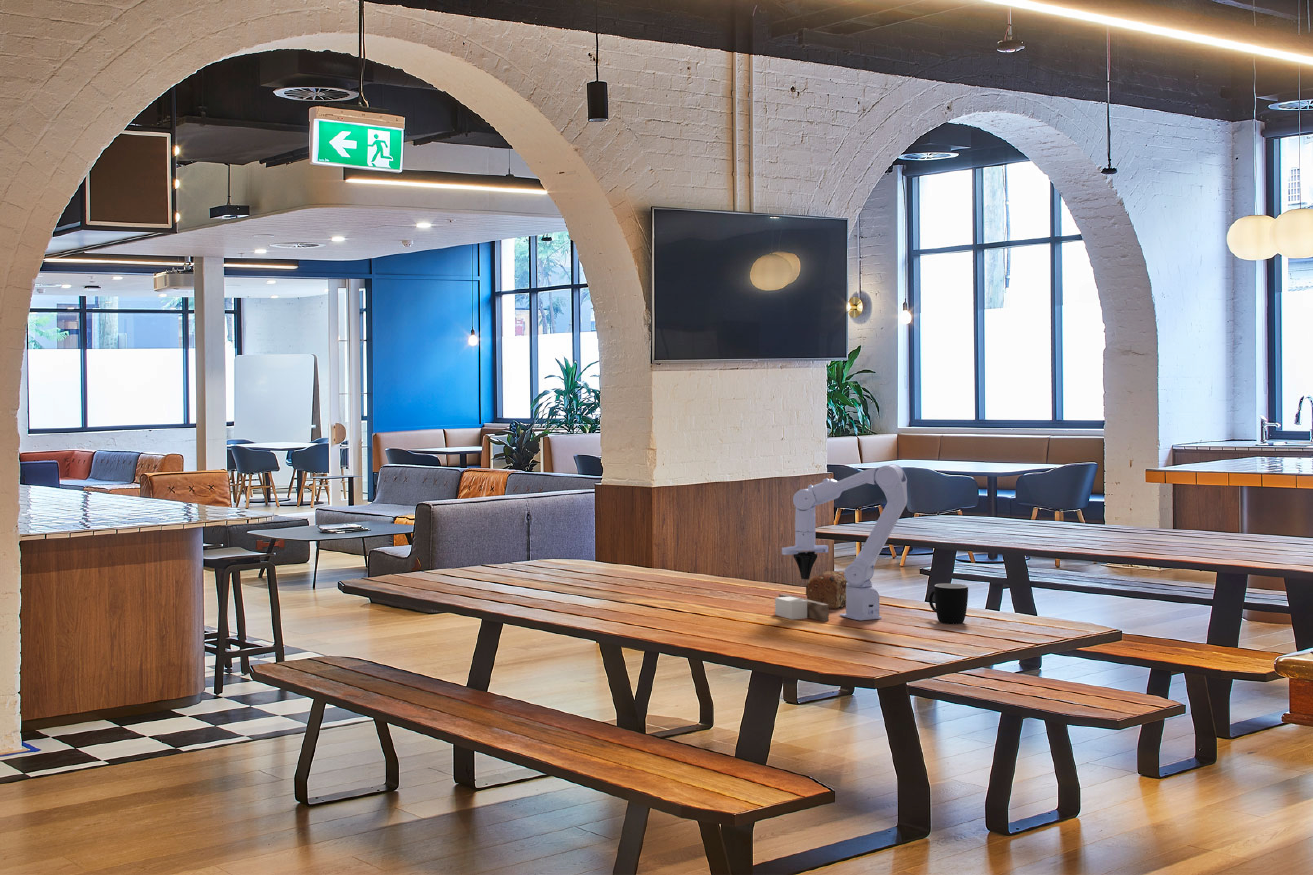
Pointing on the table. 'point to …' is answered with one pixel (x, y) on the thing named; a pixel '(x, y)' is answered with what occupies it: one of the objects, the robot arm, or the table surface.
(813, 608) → the board
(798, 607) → the block
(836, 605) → the bread
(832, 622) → the table surface
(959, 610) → the mug
